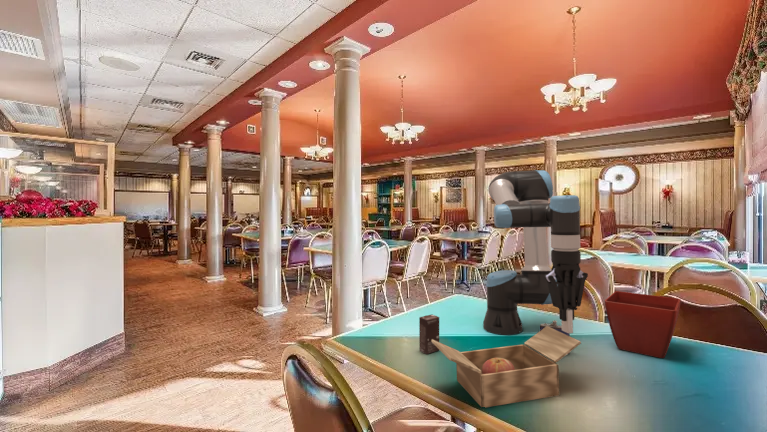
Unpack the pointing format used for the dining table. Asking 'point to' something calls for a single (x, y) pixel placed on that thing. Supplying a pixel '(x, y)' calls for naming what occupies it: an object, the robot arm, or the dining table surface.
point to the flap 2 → (552, 343)
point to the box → (428, 333)
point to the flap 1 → (455, 356)
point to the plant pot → (642, 322)
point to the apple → (497, 366)
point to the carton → (509, 376)
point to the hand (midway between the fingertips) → (567, 331)
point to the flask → (554, 326)
